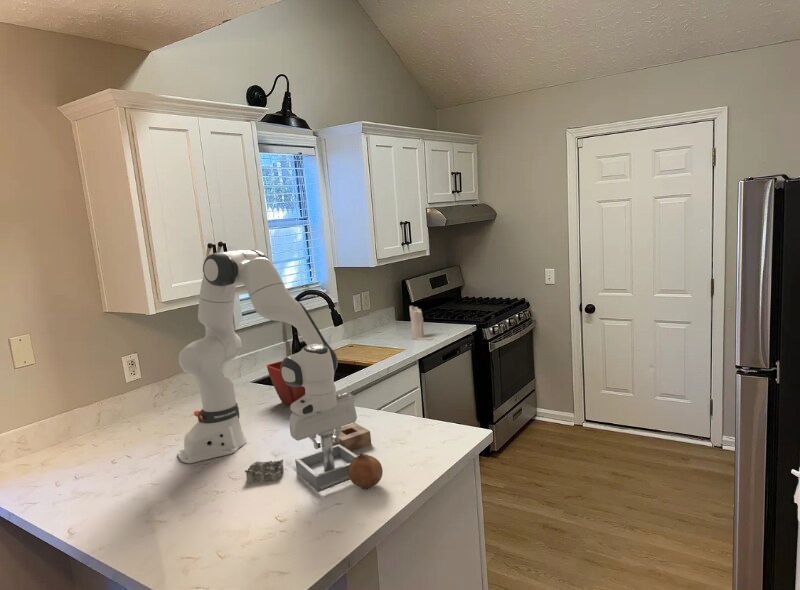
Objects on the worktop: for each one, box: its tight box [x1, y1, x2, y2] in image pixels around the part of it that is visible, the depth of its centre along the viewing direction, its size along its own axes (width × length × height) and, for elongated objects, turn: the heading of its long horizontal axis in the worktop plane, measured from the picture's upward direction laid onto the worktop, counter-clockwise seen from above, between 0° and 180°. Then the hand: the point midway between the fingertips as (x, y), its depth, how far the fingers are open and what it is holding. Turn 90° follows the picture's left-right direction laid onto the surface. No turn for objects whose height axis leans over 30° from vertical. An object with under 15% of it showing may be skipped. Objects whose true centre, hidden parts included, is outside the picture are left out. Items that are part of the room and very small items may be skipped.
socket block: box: [331, 422, 372, 453], centre depth 176 cm, size 10×10×6 cm
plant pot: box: [266, 360, 305, 407], centre depth 226 cm, size 19×19×17 cm
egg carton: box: [244, 458, 284, 483], centre depth 163 cm, size 11×8×4 cm
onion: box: [348, 452, 384, 490], centre depth 150 cm, size 10×9×10 cm
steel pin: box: [317, 429, 336, 471], centre depth 159 cm, size 5×5×12 cm
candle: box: [409, 305, 435, 341], centre depth 319 cm, size 7×14×20 cm, turn 59°
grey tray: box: [294, 444, 358, 493], centre depth 160 cm, size 15×15×4 cm
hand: (326, 444), depth 159 cm, fingers open, 5 cm apart
